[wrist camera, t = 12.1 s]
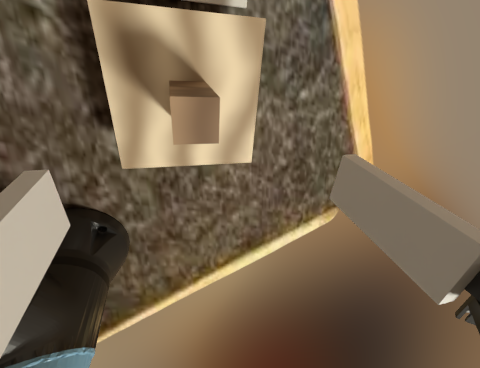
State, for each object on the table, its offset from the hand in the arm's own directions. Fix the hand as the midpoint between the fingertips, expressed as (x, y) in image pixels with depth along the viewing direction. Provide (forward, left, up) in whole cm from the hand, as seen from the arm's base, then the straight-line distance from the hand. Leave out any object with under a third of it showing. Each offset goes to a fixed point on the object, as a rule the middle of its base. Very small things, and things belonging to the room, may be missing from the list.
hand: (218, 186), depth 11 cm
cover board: (0, 0, -21) cm, 21 cm away
